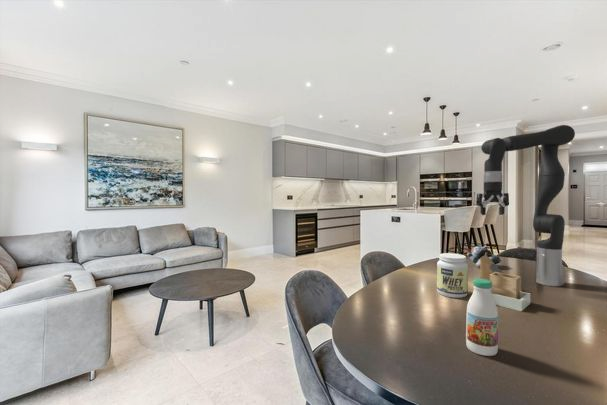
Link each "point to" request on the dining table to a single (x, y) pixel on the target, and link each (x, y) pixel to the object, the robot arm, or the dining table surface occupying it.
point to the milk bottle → (482, 320)
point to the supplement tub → (452, 275)
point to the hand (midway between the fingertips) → (492, 214)
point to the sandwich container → (487, 268)
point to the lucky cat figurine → (481, 255)
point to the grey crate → (512, 301)
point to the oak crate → (505, 285)
